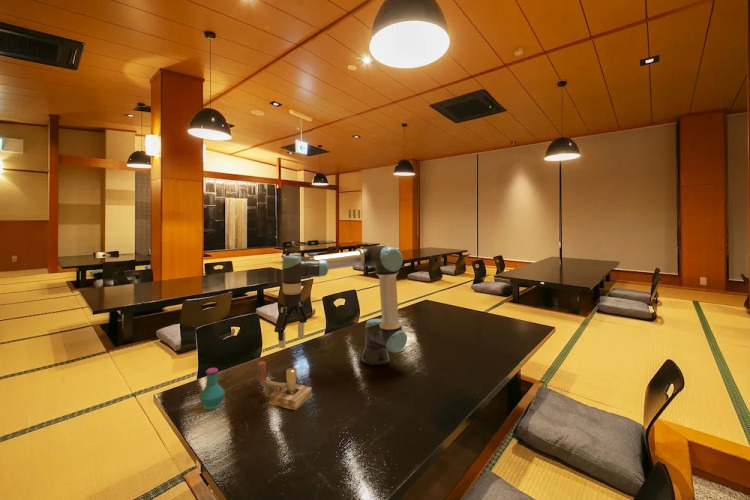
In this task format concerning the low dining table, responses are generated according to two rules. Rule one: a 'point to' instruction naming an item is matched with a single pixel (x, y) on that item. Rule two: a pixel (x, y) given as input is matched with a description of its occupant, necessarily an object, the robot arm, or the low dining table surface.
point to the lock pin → (262, 377)
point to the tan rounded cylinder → (291, 381)
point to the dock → (289, 396)
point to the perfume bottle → (212, 391)
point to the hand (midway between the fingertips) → (291, 342)
